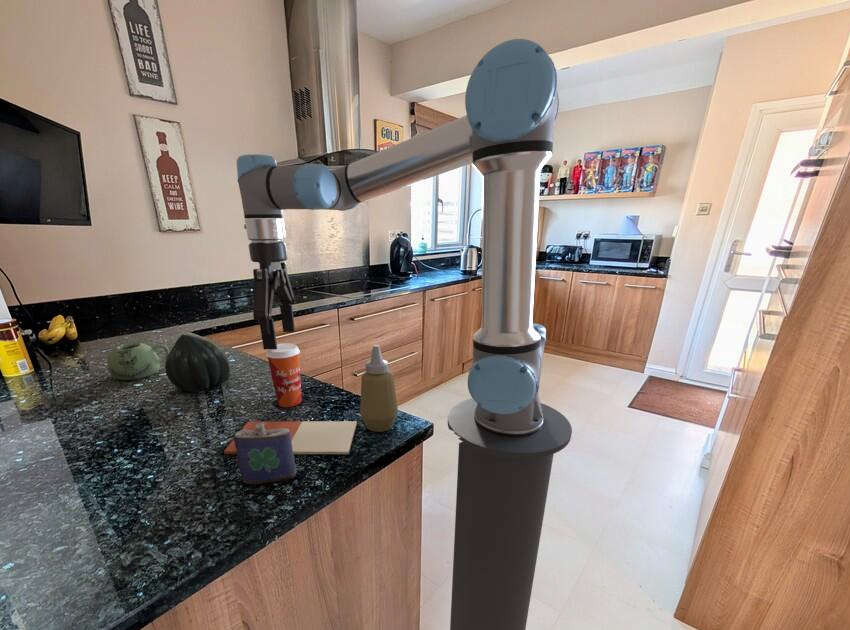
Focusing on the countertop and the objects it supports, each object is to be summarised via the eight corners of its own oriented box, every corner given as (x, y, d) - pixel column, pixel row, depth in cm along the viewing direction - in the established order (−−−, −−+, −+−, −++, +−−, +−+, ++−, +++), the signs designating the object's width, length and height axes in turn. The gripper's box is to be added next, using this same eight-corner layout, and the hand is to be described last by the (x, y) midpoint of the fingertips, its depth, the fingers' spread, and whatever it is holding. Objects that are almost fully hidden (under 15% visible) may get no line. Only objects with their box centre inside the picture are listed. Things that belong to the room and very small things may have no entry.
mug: (110, 386, 107) (100, 356, 104) (111, 372, 117) (102, 344, 114) (175, 373, 115) (168, 345, 112) (171, 361, 125) (164, 335, 122)
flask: (297, 470, 70) (289, 417, 65) (295, 480, 67) (286, 426, 63) (244, 474, 69) (232, 421, 64) (239, 485, 66) (227, 430, 62)
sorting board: (357, 423, 85) (356, 421, 85) (348, 454, 74) (348, 451, 74) (248, 423, 86) (248, 421, 86) (224, 454, 75) (223, 451, 75)
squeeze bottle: (384, 413, 89) (381, 337, 82) (405, 427, 83) (404, 346, 76) (353, 424, 85) (348, 344, 78) (374, 439, 79) (369, 354, 72)
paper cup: (282, 412, 91) (274, 355, 85) (268, 402, 96) (259, 347, 91) (312, 401, 96) (305, 347, 90) (296, 392, 101) (289, 340, 95)
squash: (235, 372, 100) (217, 322, 103) (169, 387, 93) (153, 333, 96) (235, 391, 112) (219, 346, 115) (177, 406, 105) (162, 357, 108)
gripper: (269, 238, 93) (281, 325, 101) (222, 245, 70) (242, 357, 78) (300, 238, 93) (310, 325, 101) (263, 245, 70) (279, 357, 78)
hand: (280, 339), depth 90 cm, fingers open, 13 cm apart
